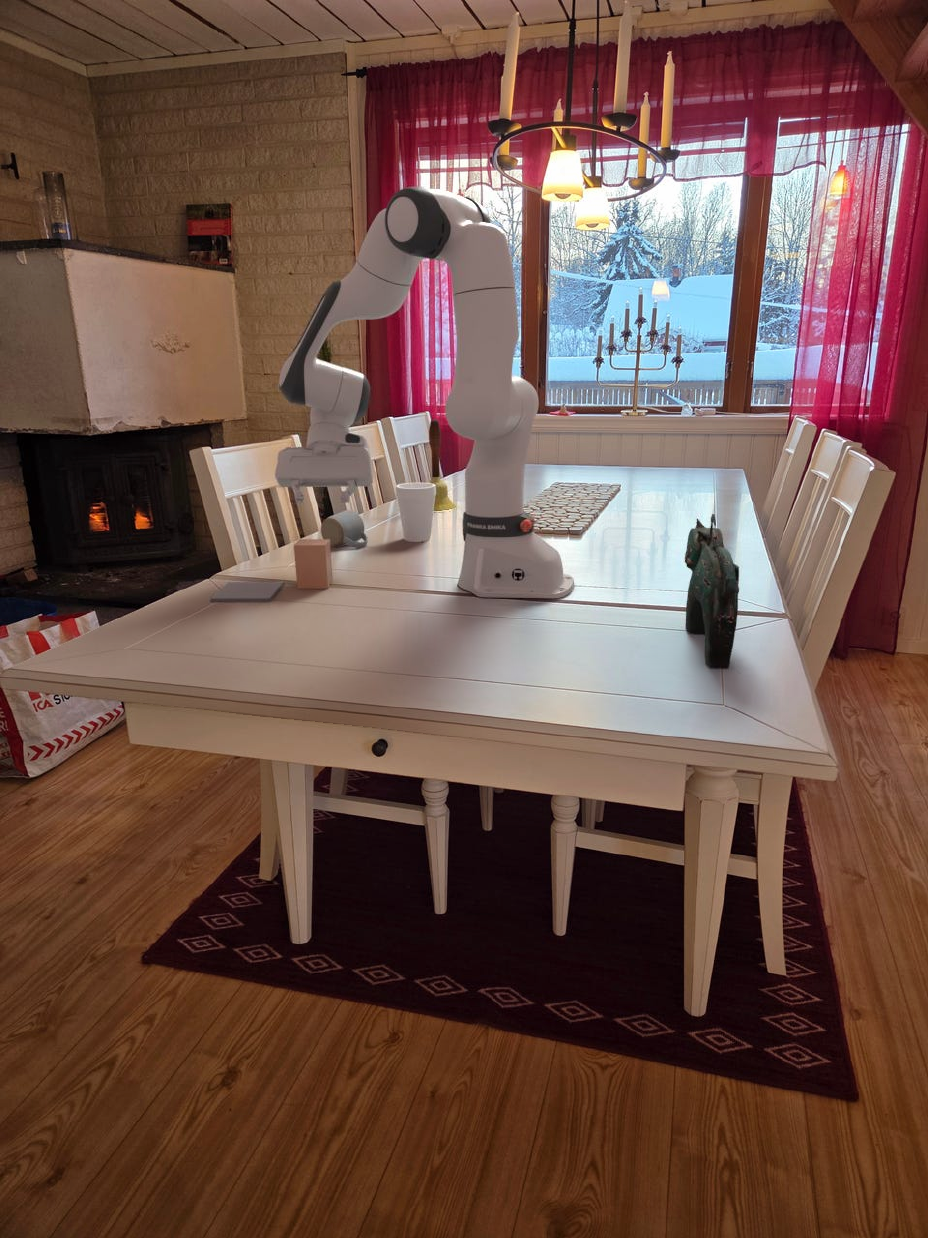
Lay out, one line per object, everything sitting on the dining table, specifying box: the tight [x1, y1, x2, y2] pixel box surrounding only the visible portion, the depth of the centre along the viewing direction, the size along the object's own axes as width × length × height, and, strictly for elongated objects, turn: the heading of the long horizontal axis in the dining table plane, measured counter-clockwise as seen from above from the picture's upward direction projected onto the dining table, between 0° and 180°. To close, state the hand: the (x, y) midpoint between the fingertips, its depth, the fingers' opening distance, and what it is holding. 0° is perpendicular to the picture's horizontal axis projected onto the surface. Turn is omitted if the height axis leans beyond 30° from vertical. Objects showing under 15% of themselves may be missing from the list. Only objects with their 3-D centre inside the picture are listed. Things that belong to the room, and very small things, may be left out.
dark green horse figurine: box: [684, 513, 740, 669], centre depth 118 cm, size 20×6×20 cm, turn 174°
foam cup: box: [395, 482, 436, 543], centre depth 191 cm, size 10×9×13 cm
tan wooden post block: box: [293, 538, 334, 590], centre depth 154 cm, size 6×5×9 cm
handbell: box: [427, 419, 457, 511], centre depth 227 cm, size 12×12×25 cm
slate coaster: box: [209, 581, 285, 603], centre depth 151 cm, size 11×11×1 cm
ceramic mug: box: [320, 509, 369, 549], centre depth 187 cm, size 11×8×8 cm
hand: (321, 501), depth 162 cm, fingers open, 8 cm apart
